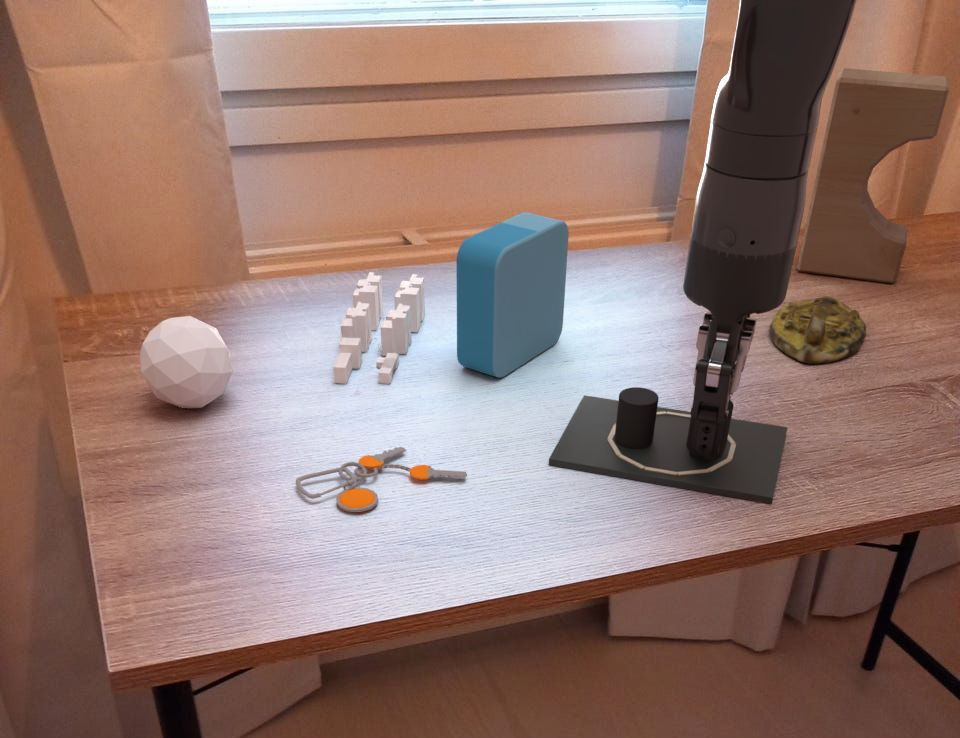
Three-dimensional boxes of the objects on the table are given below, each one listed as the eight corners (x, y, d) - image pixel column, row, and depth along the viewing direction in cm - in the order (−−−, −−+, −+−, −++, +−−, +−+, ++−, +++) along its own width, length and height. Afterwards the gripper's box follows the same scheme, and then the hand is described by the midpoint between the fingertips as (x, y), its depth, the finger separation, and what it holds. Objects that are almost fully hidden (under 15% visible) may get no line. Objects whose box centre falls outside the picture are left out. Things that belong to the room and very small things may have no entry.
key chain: (322, 523, 76) (321, 514, 76) (287, 478, 81) (286, 469, 81) (472, 481, 81) (472, 472, 80) (430, 441, 86) (430, 432, 85)
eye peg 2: (727, 441, 85) (736, 397, 82) (722, 459, 82) (730, 415, 80) (689, 435, 86) (696, 391, 83) (683, 453, 83) (690, 408, 81)
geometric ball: (193, 441, 91) (140, 397, 84) (161, 379, 94) (107, 331, 87) (262, 393, 91) (214, 344, 83) (227, 331, 94) (179, 280, 86)
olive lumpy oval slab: (776, 311, 111) (761, 367, 100) (780, 268, 108) (765, 319, 97) (867, 313, 108) (862, 370, 97) (873, 269, 105) (869, 322, 94)
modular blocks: (361, 308, 108) (358, 271, 105) (426, 311, 107) (424, 273, 105) (326, 394, 93) (321, 353, 90) (400, 397, 92) (398, 356, 90)
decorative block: (897, 268, 119) (950, 76, 106) (895, 285, 114) (949, 87, 102) (800, 255, 121) (840, 66, 109) (794, 272, 117) (835, 77, 104)
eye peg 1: (655, 433, 86) (661, 390, 84) (648, 451, 84) (654, 407, 82) (618, 427, 87) (623, 384, 85) (610, 445, 85) (615, 401, 82)
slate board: (786, 433, 88) (787, 426, 88) (771, 504, 79) (773, 496, 79) (583, 401, 92) (584, 393, 92) (548, 465, 83) (548, 457, 83)
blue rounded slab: (525, 329, 104) (530, 207, 96) (562, 340, 102) (570, 216, 94) (455, 371, 97) (455, 242, 89) (495, 383, 95) (497, 253, 87)
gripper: (788, 273, 67) (741, 498, 78) (805, 209, 77) (761, 415, 88) (675, 259, 69) (644, 480, 80) (706, 198, 79) (675, 402, 90)
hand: (706, 445), depth 84 cm, fingers closed on eye peg 2, 3 cm apart
